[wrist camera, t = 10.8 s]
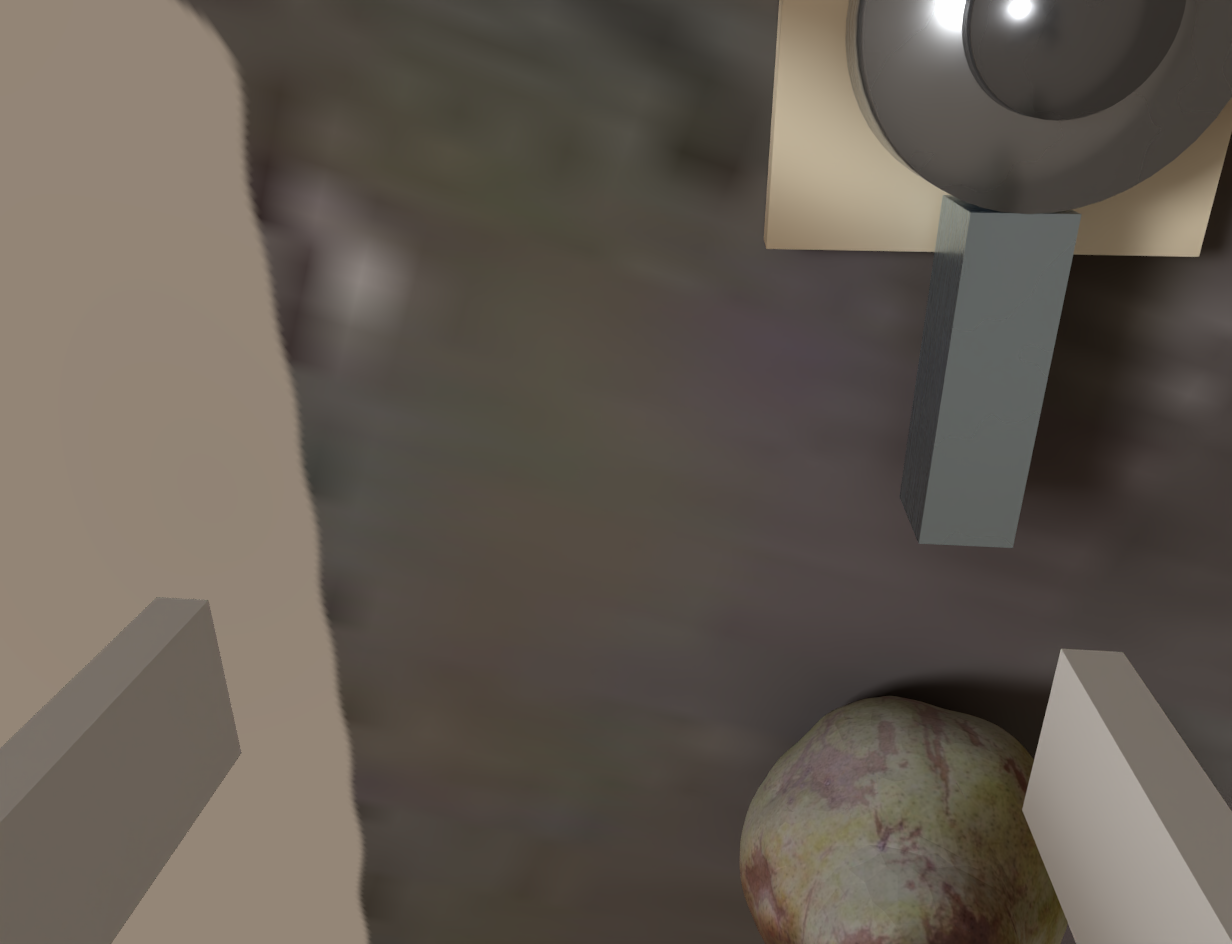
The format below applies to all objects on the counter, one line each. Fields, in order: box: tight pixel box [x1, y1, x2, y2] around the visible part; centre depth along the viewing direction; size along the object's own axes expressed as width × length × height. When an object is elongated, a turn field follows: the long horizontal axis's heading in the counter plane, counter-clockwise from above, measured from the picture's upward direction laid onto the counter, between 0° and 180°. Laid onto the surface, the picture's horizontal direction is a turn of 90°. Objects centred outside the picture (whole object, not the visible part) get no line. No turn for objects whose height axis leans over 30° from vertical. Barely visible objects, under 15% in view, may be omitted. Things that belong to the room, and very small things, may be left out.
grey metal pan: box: [845, 0, 1232, 548], centre depth 21 cm, size 16×8×4 cm, turn 0°
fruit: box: [740, 696, 1068, 944], centre depth 28 cm, size 10×9×12 cm
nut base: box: [764, 0, 1232, 257], centre depth 22 cm, size 11×11×3 cm
